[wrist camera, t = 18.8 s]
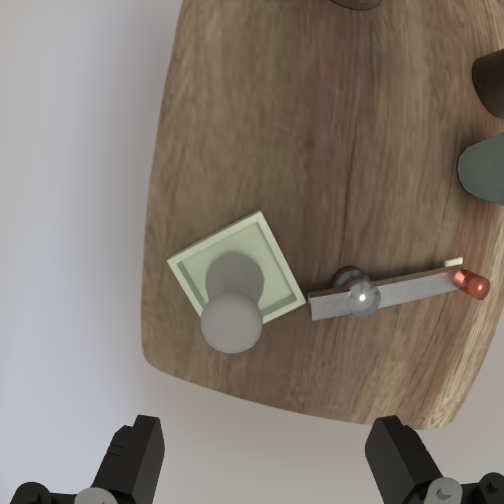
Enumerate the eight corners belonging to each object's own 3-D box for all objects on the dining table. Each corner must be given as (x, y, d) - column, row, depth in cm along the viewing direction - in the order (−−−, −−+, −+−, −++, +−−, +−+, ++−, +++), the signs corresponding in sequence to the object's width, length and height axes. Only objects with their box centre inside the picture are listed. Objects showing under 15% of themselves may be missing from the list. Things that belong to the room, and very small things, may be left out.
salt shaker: (244, 310, 33) (245, 380, 20) (198, 284, 32) (172, 343, 20) (273, 266, 32) (292, 317, 19) (226, 237, 31) (214, 272, 19)
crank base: (324, 277, 34) (329, 282, 32) (358, 259, 33) (364, 263, 31) (338, 309, 34) (343, 315, 33) (370, 291, 34) (377, 297, 32)
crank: (307, 314, 32) (322, 345, 25) (304, 283, 31) (320, 308, 25) (454, 284, 32) (487, 302, 25) (455, 256, 31) (491, 271, 24)
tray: (173, 254, 33) (166, 260, 30) (259, 209, 32) (260, 211, 29) (219, 332, 35) (217, 344, 32) (301, 293, 34) (306, 302, 31)
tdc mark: (444, 266, 34) (446, 267, 33) (444, 260, 34) (446, 261, 33) (460, 262, 34) (462, 263, 33) (460, 256, 34) (462, 257, 33)
